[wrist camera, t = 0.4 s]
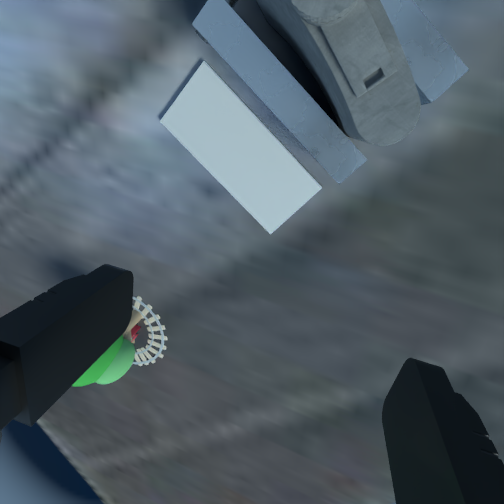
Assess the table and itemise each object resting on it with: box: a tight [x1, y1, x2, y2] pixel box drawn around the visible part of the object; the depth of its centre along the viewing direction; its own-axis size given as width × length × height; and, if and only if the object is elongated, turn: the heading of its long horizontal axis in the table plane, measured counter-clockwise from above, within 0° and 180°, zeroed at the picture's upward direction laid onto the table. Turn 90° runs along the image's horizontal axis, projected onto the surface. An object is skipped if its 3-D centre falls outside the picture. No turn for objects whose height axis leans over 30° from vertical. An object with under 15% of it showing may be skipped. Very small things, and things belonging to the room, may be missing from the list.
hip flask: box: [256, 0, 421, 146], centre depth 22 cm, size 16×4×20 cm, turn 39°
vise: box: [192, 0, 469, 184], centre depth 27 cm, size 14×19×7 cm
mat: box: [160, 61, 322, 234], centre depth 35 cm, size 8×18×1 cm, turn 46°
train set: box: [72, 296, 167, 386], centre depth 43 cm, size 15×14×14 cm
